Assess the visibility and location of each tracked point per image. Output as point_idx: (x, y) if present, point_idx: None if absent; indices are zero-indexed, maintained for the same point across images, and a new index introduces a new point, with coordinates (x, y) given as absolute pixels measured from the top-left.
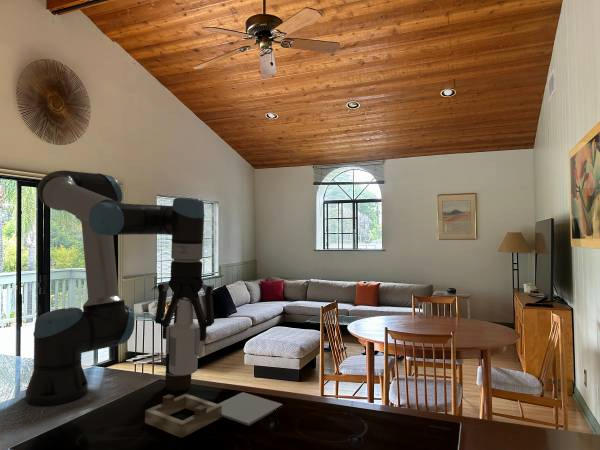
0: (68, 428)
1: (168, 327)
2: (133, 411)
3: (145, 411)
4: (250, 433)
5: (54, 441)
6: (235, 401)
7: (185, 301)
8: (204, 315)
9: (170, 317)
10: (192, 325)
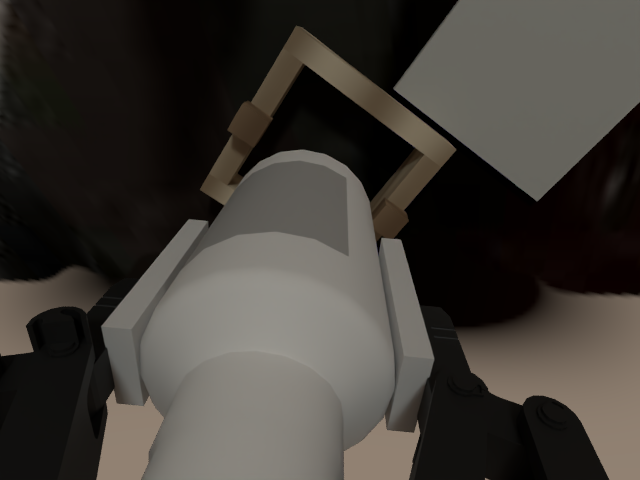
0: (24, 209)
1: (137, 404)
2: (136, 93)
3: (202, 189)
4: (532, 241)
5: (45, 270)
6: (507, 8)
7: None
8: (484, 473)
9: (91, 461)
10: (347, 439)
